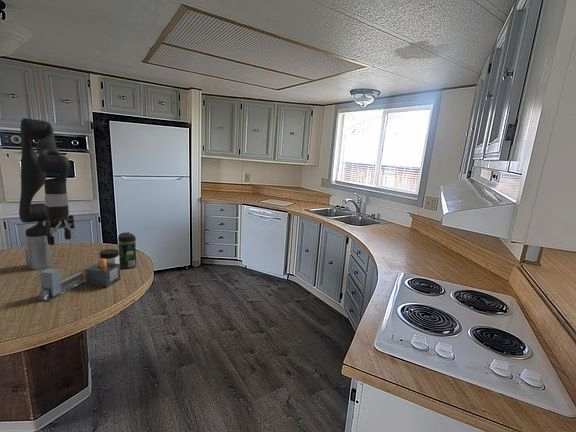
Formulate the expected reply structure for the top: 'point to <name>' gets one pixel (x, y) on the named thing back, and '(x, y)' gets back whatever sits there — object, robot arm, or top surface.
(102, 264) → the orange peg
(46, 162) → the robot arm
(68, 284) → the rail
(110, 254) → the jar
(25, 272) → the top surface
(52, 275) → the block
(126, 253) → the coffee jar
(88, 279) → the block with square hole
